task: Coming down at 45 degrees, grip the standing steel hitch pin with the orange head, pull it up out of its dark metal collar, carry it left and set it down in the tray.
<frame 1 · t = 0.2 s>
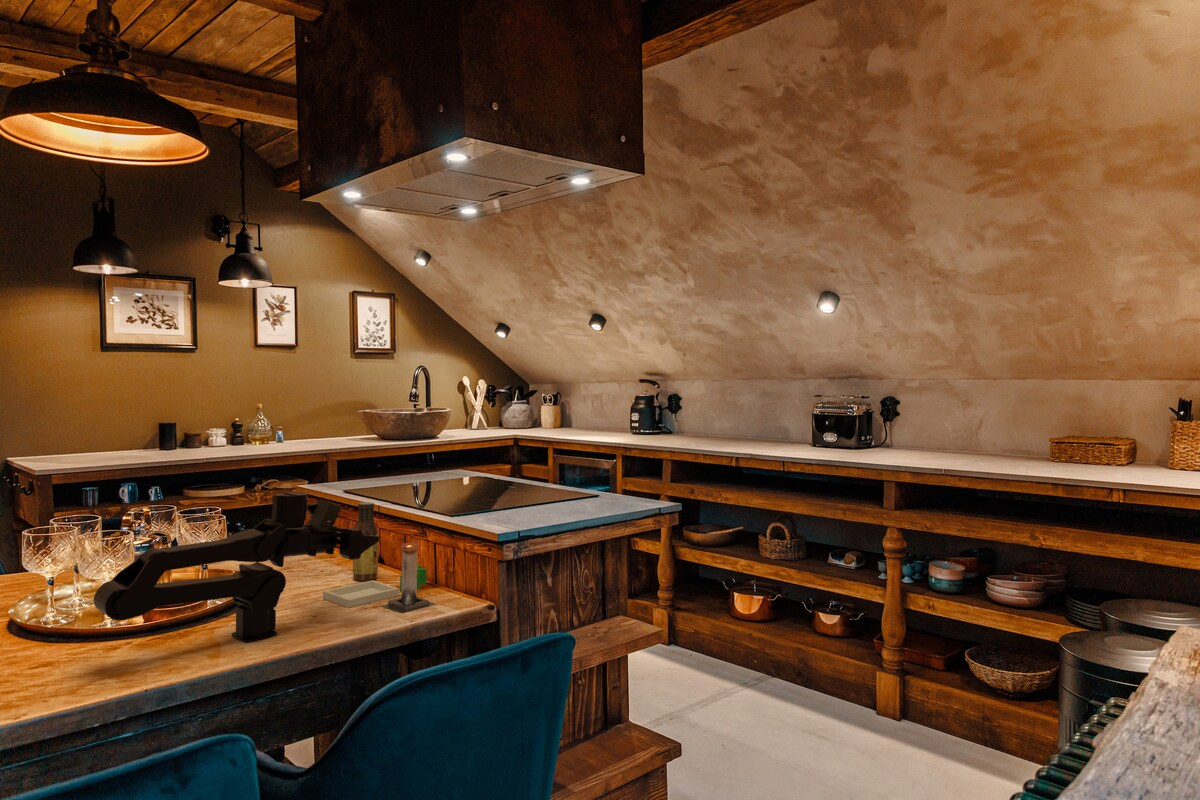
hand: (367, 535, 169), 17 cm above the table, tool horizontal, fingers open, 9 cm apart
hitch pin: (408, 605, 172), resting on collar block
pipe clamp: (414, 589, 188), on the table
collar block: (408, 606, 172), on the table
sauce bottle: (365, 579, 195), on the table
tray: (361, 599, 177), on the table
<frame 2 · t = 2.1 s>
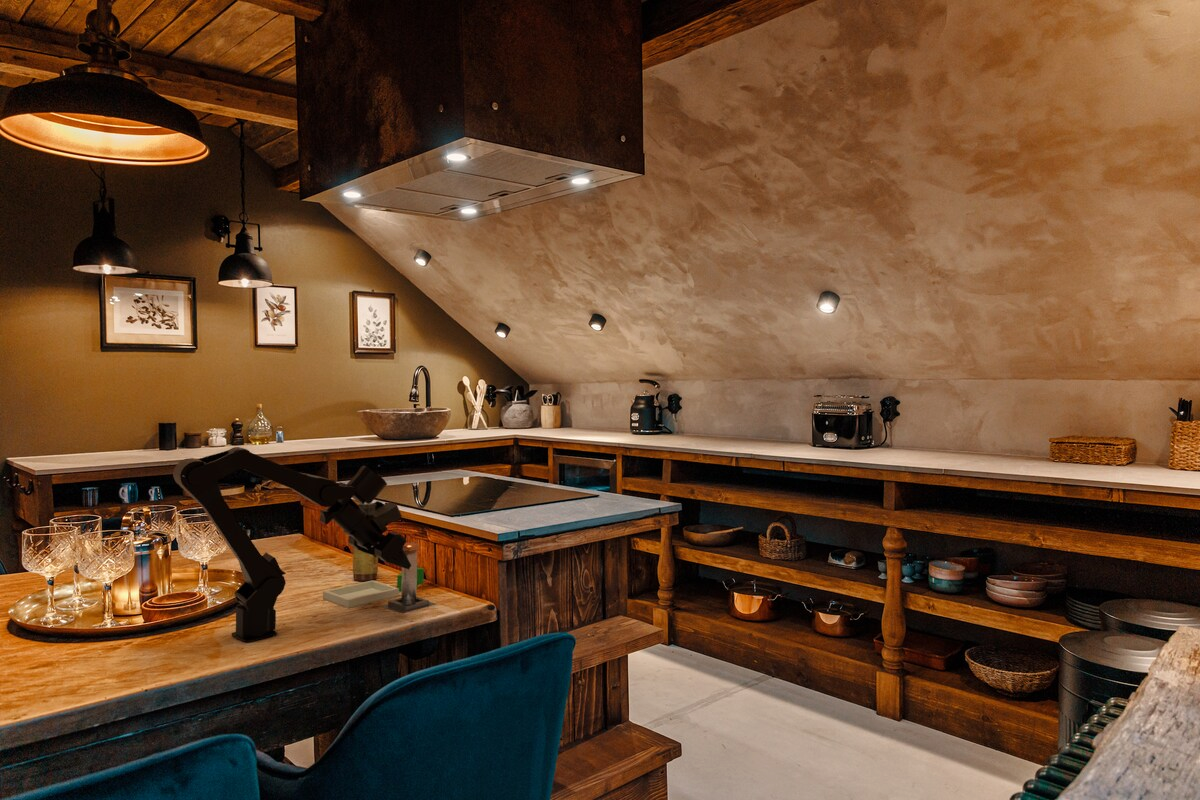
hand: (400, 563, 170), 10 cm above the table, tool tilted 45°, fingers open, 9 cm apart
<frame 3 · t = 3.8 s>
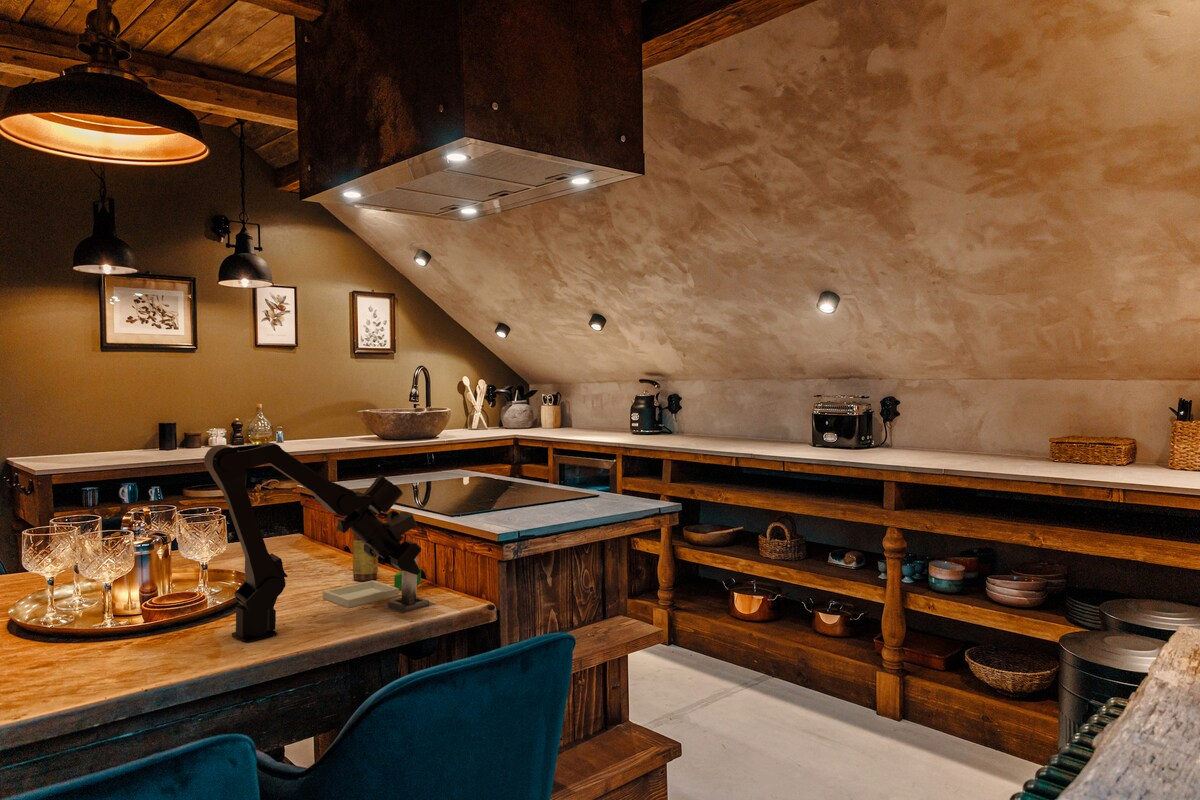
hand: (414, 571, 173), 8 cm above the table, tool tilted 45°, fingers closed on hitch pin, 3 cm apart
hitch pin: (408, 605, 172), resting on collar block, touching gripper
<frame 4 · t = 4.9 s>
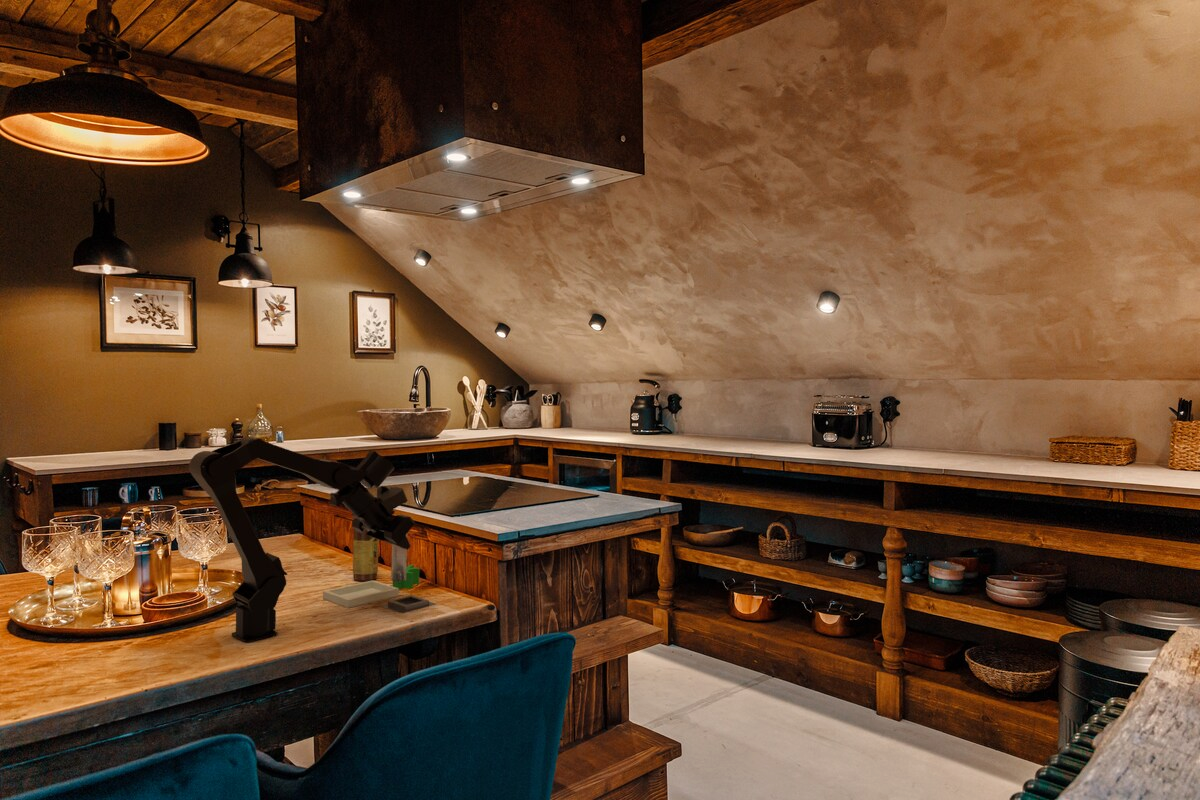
hand: (404, 546, 174), 13 cm above the table, tool tilted 45°, fingers closed on hitch pin, 3 cm apart
hitch pin: (398, 579, 173), point 6 cm above the table, touching gripper
when the fingers open (10 cm above the table, at t = 6.4 s): hitch pin drops 1 cm, resting on tray.
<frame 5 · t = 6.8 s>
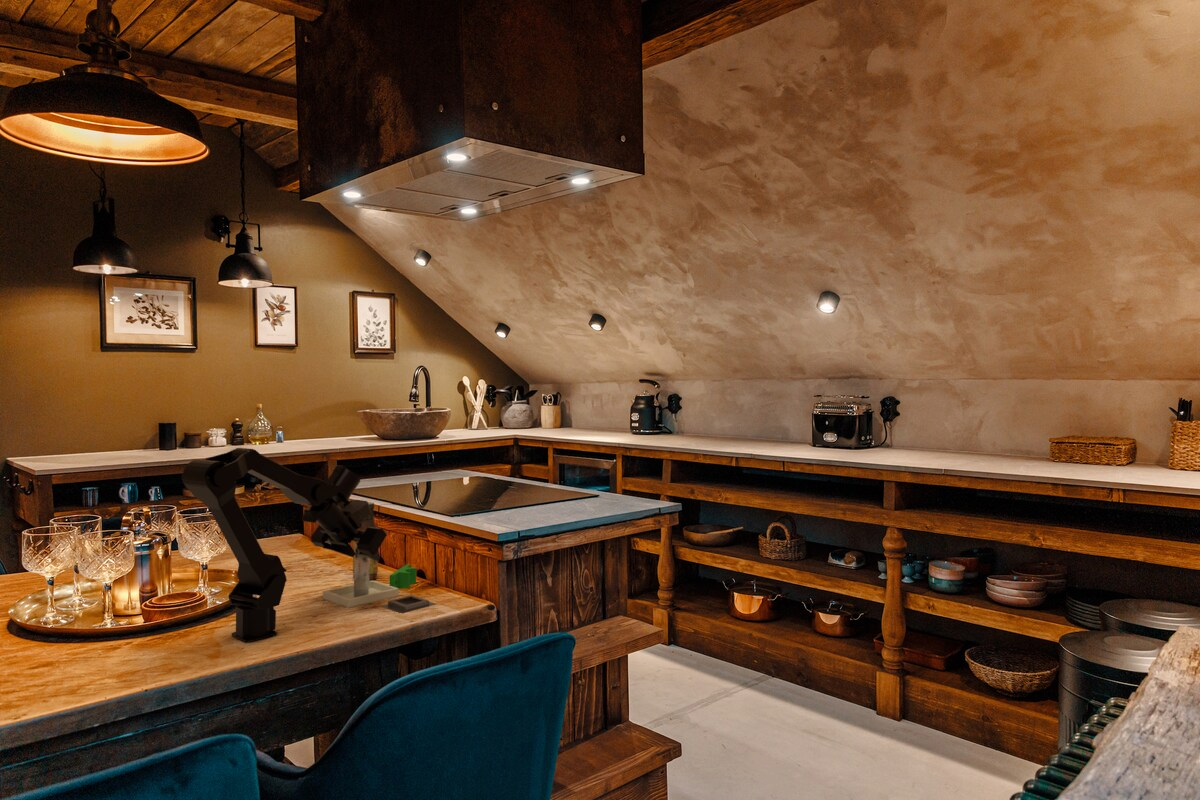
hand: (366, 557, 178), 10 cm above the table, tool tilted 45°, fingers open, 7 cm apart
hitch pin: (361, 596, 177), point 1 cm above the table, touching tray
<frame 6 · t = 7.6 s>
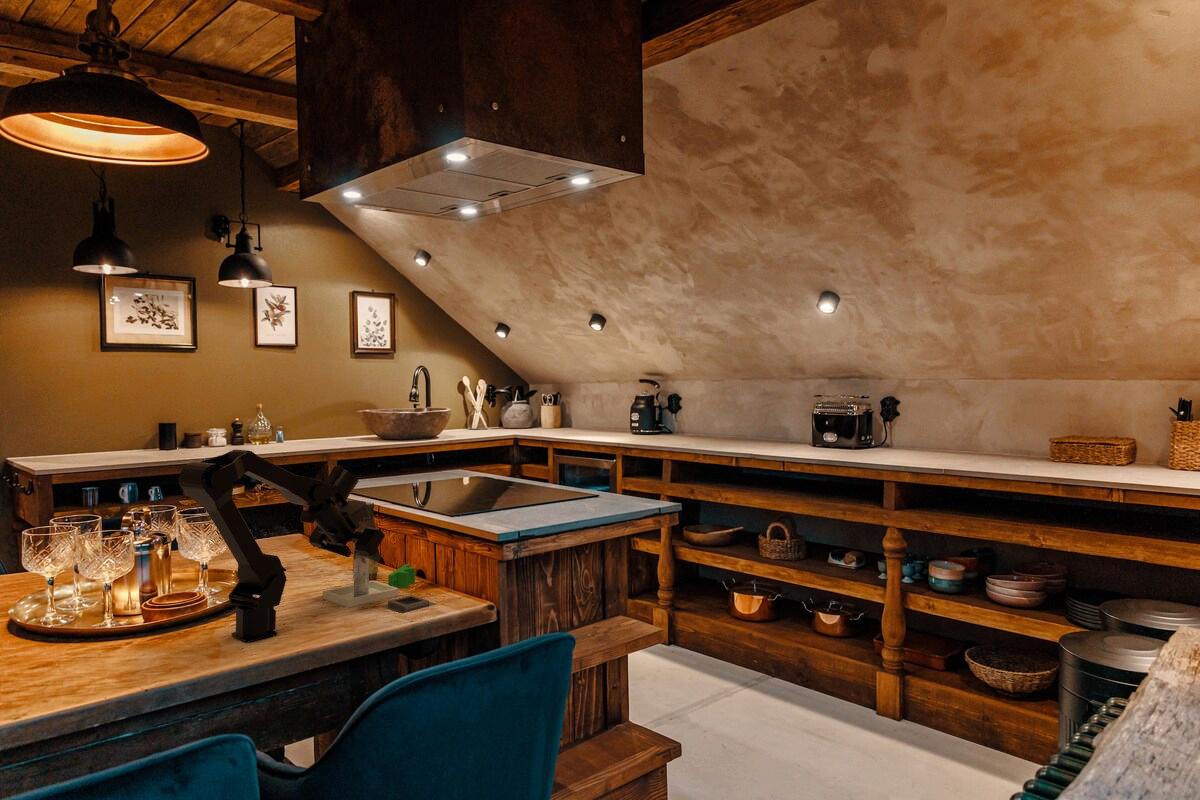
hand: (364, 558, 177), 10 cm above the table, tool tilted 45°, fingers open, 9 cm apart
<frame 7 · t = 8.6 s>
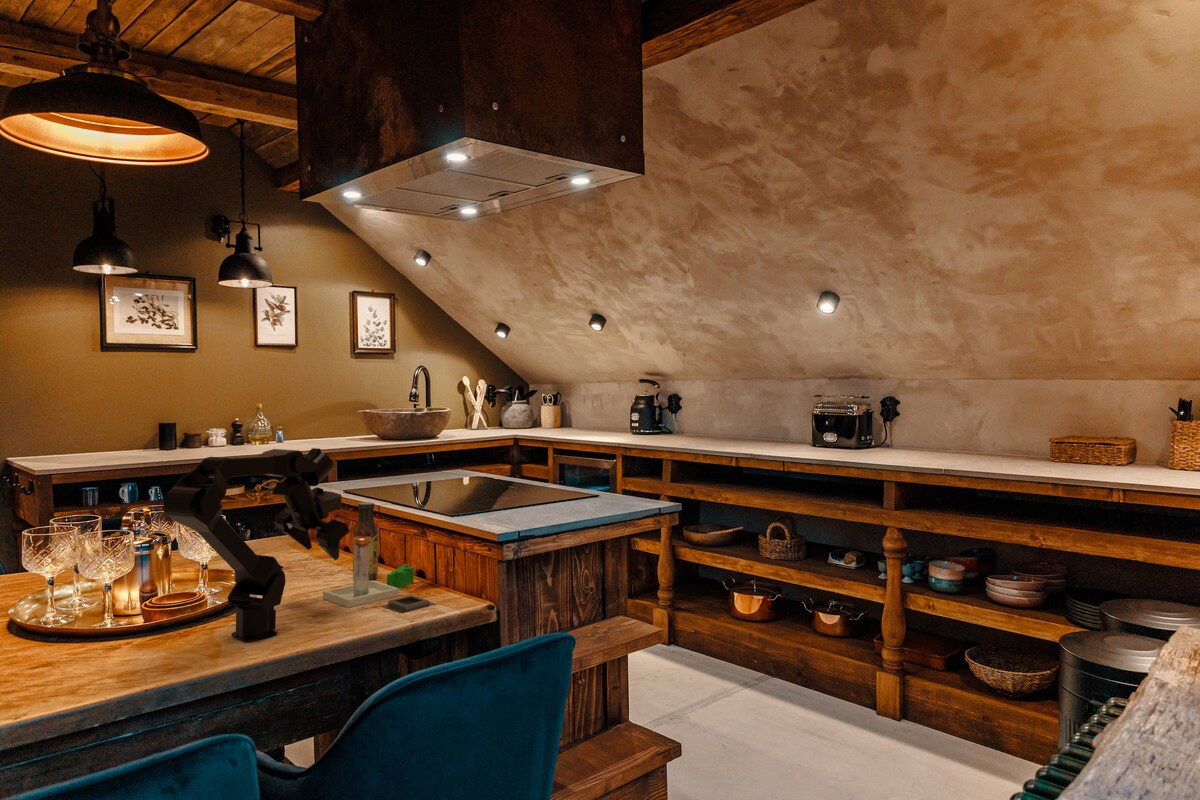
hand: (323, 553, 170), 12 cm above the table, tool tilted 30°, fingers open, 9 cm apart
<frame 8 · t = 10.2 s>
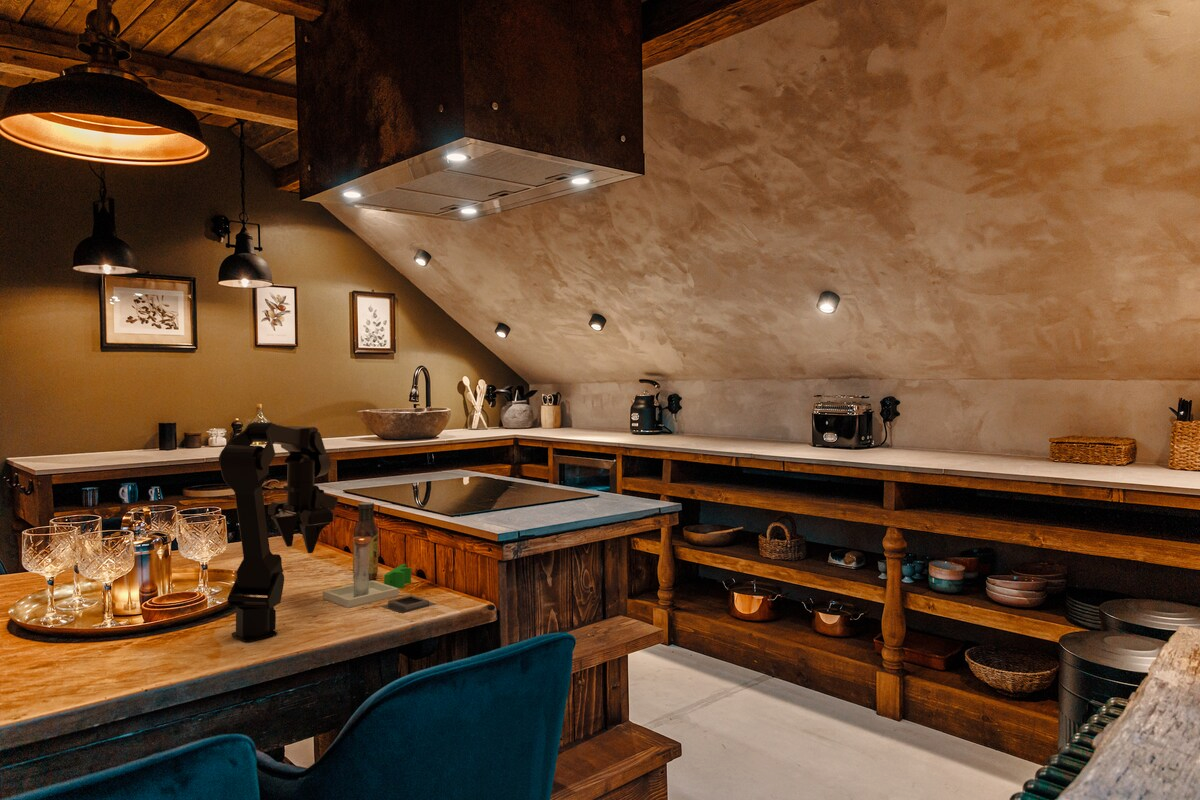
hand: (299, 549, 170), 13 cm above the table, tool pointing down, fingers open, 9 cm apart
at the end: hitch pin inside the target area on the tray (0.0 cm from its centre), point 0.6 cm above the tray's base; the gripper is holding nothing; hitch pin moved 13.6 cm from its start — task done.
